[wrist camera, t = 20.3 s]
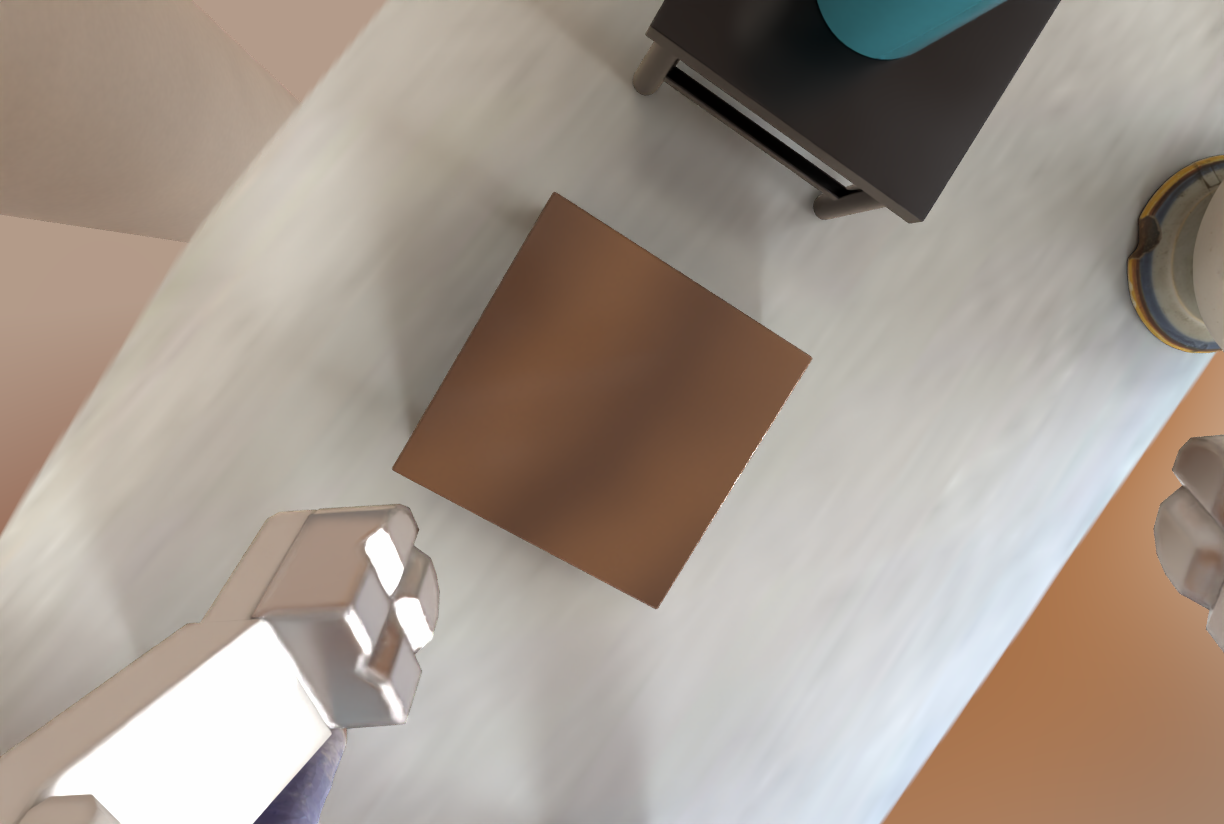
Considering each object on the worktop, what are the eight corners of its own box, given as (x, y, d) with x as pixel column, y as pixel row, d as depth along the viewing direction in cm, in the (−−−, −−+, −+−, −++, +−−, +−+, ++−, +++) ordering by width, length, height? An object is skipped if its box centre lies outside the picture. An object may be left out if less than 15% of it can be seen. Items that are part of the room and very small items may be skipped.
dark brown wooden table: (614, 88, 33) (650, 25, 25) (759, -160, 32) (842, -305, 24) (830, 237, 35) (923, 222, 27) (969, 10, 34) (1106, -72, 27)
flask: (357, 718, 36) (295, 898, 25) (333, 771, 36) (262, 970, 25) (161, 652, 34) (6, 816, 23) (137, 709, 34) (-26, 895, 24)
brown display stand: (410, 438, 34) (390, 470, 28) (544, 208, 33) (553, 190, 27) (632, 559, 36) (657, 610, 31) (762, 346, 36) (814, 358, 30)
